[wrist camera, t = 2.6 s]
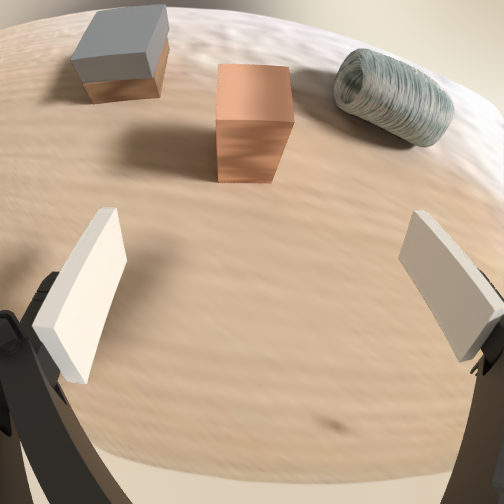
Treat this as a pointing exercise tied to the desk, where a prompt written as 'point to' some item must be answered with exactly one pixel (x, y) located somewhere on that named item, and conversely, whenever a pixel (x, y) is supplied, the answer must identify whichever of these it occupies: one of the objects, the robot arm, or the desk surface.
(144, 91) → the bottom slab
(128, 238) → the desk surface
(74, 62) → the top slab
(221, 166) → the tall block
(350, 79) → the spool
